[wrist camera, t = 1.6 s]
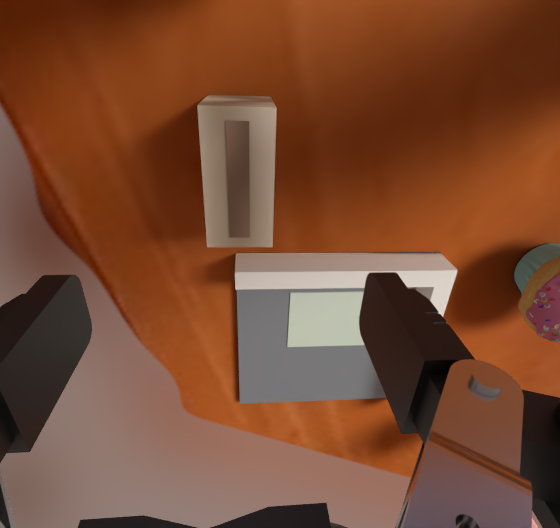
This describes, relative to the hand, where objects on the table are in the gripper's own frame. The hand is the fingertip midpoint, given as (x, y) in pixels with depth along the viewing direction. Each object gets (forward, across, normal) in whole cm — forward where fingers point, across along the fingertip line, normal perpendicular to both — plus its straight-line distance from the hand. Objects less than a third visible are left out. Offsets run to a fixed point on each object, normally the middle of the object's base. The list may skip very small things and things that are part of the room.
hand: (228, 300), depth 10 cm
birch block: (+18, 0, 0) cm, 18 cm away
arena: (+17, -8, +16) cm, 25 cm away
